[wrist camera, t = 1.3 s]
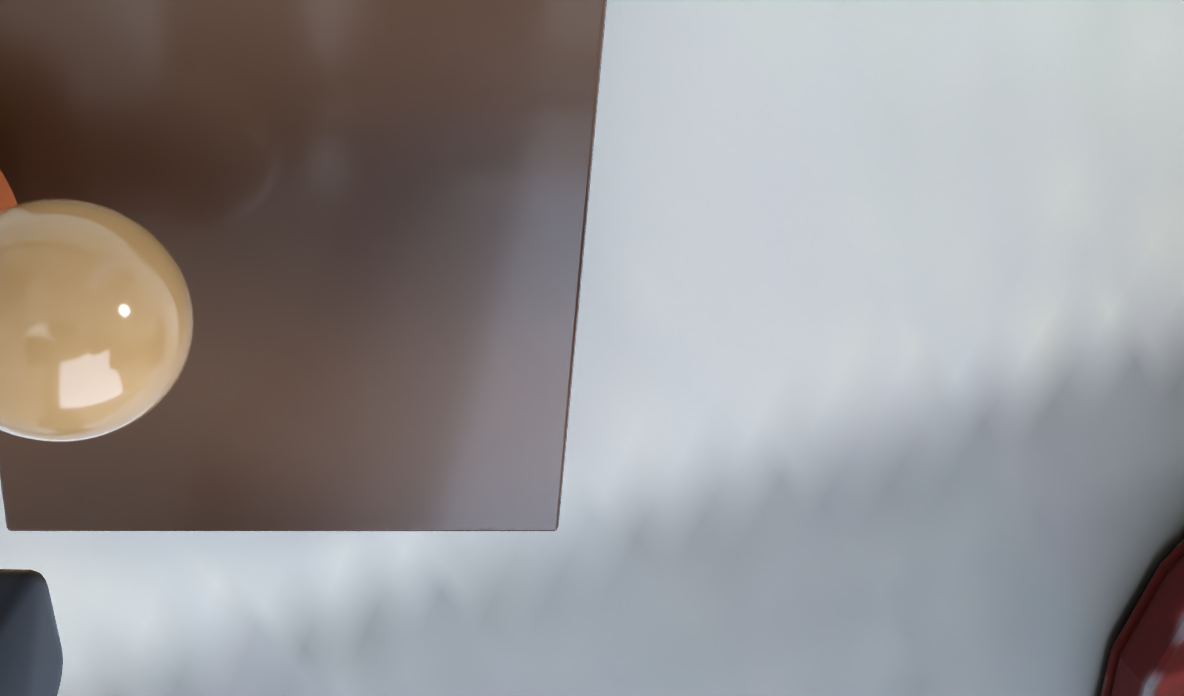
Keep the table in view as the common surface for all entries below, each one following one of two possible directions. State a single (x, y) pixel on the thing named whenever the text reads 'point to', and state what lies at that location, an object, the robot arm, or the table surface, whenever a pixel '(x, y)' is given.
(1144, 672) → the hourglass
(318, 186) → the riser
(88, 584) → the table surface
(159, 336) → the bottle
